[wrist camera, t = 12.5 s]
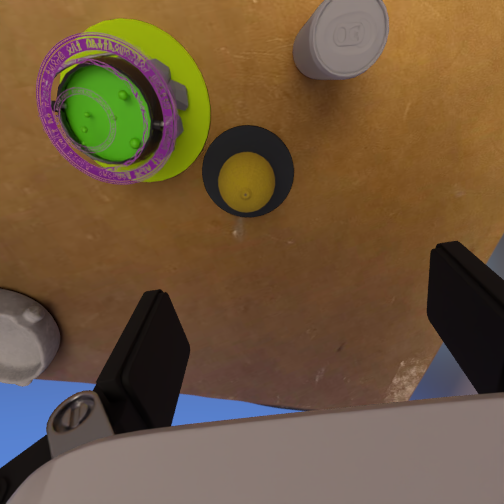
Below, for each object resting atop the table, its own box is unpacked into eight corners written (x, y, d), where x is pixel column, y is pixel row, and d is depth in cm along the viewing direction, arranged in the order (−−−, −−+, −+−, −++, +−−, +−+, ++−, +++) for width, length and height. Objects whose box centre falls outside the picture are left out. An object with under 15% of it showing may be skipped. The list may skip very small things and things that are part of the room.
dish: (52, 370, 51) (33, 397, 46) (-41, 335, 48) (-71, 361, 43) (78, 308, 45) (59, 333, 40) (-26, 264, 42) (-60, 286, 37)
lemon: (269, 198, 36) (272, 227, 29) (220, 192, 36) (211, 220, 29) (277, 148, 33) (282, 166, 26) (224, 141, 33) (215, 158, 26)
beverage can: (342, 77, 31) (386, 76, 20) (292, 82, 31) (309, 83, 20) (345, 16, 28) (397, -22, 18) (291, 21, 29) (310, -13, 18)
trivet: (184, 164, 35) (182, 165, 34) (257, 103, 32) (256, 104, 31) (240, 230, 39) (240, 233, 38) (310, 182, 36) (311, 183, 35)
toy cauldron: (219, 36, 29) (199, 15, 20) (203, 192, 36) (183, 232, 27) (51, 2, 28) (-56, -38, 19) (69, 169, 35) (-3, 202, 26)
